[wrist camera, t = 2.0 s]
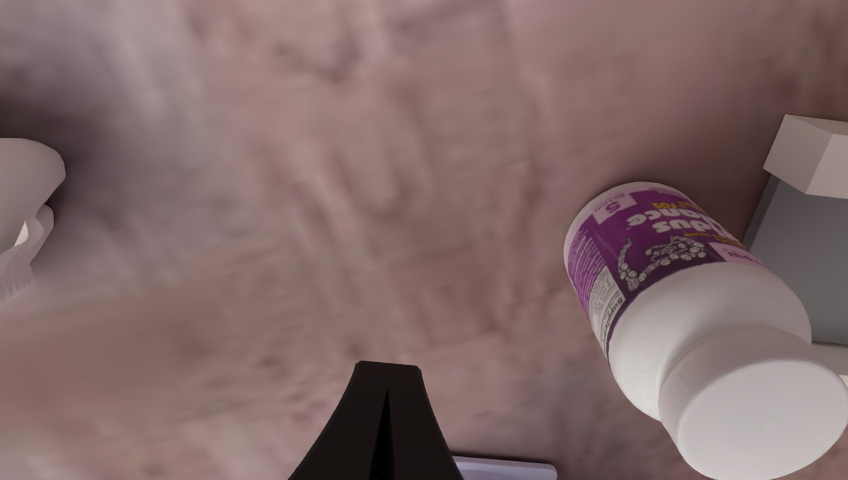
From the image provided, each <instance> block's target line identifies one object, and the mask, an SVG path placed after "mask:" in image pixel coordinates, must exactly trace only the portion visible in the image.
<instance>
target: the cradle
mask: <svg viewBox="0 0 848 480" xmlns="http://www.w3.org/2000/svg"><path fill="white" fill-rule="evenodd" d="M763 169H765V170H766V171H768V172H770V173H771V174H773V175H770V178H769V180H768V182H767V185H766V187H765V189H764V192H763V194H762V196H761V199H760V201H759V203H758V206H757V208H756V210H755V213H754V215H753V217H752V220H751V222H750V224H749V227H748V229H747V231H746V234H745V236H744V238H743V241H742V243H741V244H742V245H743V246H744V247H745V248H746V249H747V250H748V251H749V252H750V253H751V254H753V255H754V256H755V257H757V258H758V259H759V260H760V261H761V262H762V263H763V264H764V265H765V266H766V267H767V268H769V269H770V270H771V271H772V272H773V273H774V274H775V275H777V276H778V277H779V278H780V279H781V280H782V281H783V282H784V283H785V284H786V285H787V286H788V287H789V288H790V289H791V290H792V291H793V292H794V293H795V294H796V296H797V297H798V298H799V300H800V301H801V303H802V304H803V306H804V308H805V310H806V312H807V315H808V318H809V321H810V326H811V334H812V341H811V345H812V346H813V347H814V348H815V349H816V350H817V352H818V353H819V354H820V355H821V356H822V357H823V358H824V359H825V360H826V361H827V362H828V363H829V364H830V366H831V367H832V368H833V369H834V370H835V371H836V372H837V373H838V375H839V376H840V377H841V378H842V380H843V381H844V383H845V384H846V386H847V388H848V122H843V121H835V120H827V119H819V118H812V117H804V116H796V115H788V114H785V116H784V118H783V121H782V123H781V126H780V128H779V130H778V133H777V135H776V137H775V140H774V142H773V145H772V147H771V149H770V152H769V154H768V157H767V159H766V161H765V164H764V166H763Z"/></svg>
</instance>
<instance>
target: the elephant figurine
mask: <svg viewBox="0 0 848 480" xmlns="http://www.w3.org/2000/svg"><path fill="white" fill-rule="evenodd" d="M65 177H66V172H65V167H64V161H63V160H62V158H61V156H60V155H59V153H58V152H57V151H55V150H54V149H52V148H50V147H48V146H46V145H44V144H42V143H40V142H37V141H31V140H28V139H21V138H0V309H1V308H2V307H3V306H4V305H6V304H7V303H8V302H10V301H11V300H12V299H14V298H15V297H16V296H18V295H19V294H20V293H22V292H23V291H24V290H25V289H27V288H28V286H29V285H30V284H31V282H32V281H33V280H34V273H33V271H32V269H31V266H30V264H29V263H30V262H31V260H32V259H33V258H34V257H35V256H36V255H37V253H38V252H39V250H40V249H41V247H42V245H43V244H44V242H45V240H46V239H47V237H48V235H49V234H50V232H51V231H52V229H53V225H54V216H53V211H52V209H51V208H50V207H48V206H47V205H45V204H44V203H45V202H46V201H47V200H48V198H49V197H50V196H51V194H52V193H53V192H54V190H55V189H56V188H57V187H58V186H59V185H60V184H61V183H62V182H63V181H64V179H65Z"/></svg>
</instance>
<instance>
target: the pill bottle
mask: <svg viewBox="0 0 848 480" xmlns="http://www.w3.org/2000/svg"><path fill="white" fill-rule="evenodd" d="M564 261H565V266H566V270H567V273H568V276H569V278H570V280H571V282H572V285H573V287H574V289H575V291H576V293H577V296H578V298H579V300H580V302H581V304H582V307H583V309H584V311H585V313H586V315H587V317H588V320H589V322H590V324H591V326H592V329H593V331H594V333H595V335H596V337H597V339H598V342H599V344H600V346H601V348H602V351H603V353H604V355H605V357H606V359H607V362H608V364H609V366H610V369H611V371H612V373H613V376H614V378H615V380H616V382H617V383H618V385H619V387H620V388H621V390H622V391H623V393H624V394H625V396H626V397H627V398H628V399H629V400H630V401H631V402H632V404H634V405H635V406H636V407H637V408H638V409H640V410H641V411H642V412H644V413H645V414H647V415H649V416H650V417H652V418H654V419H656V420H658V421H661V422H662V424H663V426H664V427H665V429H666V430H667V431H668V433H669V434H670V436H671V438H672V440H673V441H674V443H675V445H676V446H677V448H678V450H679V452H680V454H681V455H682V456H683V458H684V459H685V461H686V462H687V463H688V464H689V465H690V466H691V467H692V468H694V469H695V470H697V471H698V472H699V473H701V474H703V475H705V476H707V477H710V478H713V479H717V480H771V479H775V478H778V477H782V476H785V475H787V474H790V473H792V472H795V471H797V470H799V469H802V468H804V467H806V466H807V465H809V464H811V463H812V462H814V461H815V460H817V459H818V458H819V457H821V456H822V455H823V454H824V453H825V452H827V451H828V450H829V449H830V448H831V447H832V445H833V444H834V443H835V442H836V441H837V440H838V439H839V437H840V436H841V434H842V433H843V431H844V429H845V427H846V426H847V424H848V388H847V386H846V384H845V383H844V381H843V380H842V378H841V377H840V376H839V375H838V373H837V372H836V371H835V370H834V369H833V368H832V367H831V366H830V364H829V363H828V362H827V361H826V360H825V359H824V358H823V357H822V356H821V355H820V354H819V353H818V352H817V350H816V349H815V348H814V347H813V346H812V345H811V341H812V334H811V326H810V321H809V318H808V315H807V312H806V310H805V308H804V306H803V304H802V303H801V301H800V300H799V298H798V297H797V296H796V294H795V293H794V292H793V291H792V290H791V289H790V288H789V287H788V286H787V285H786V284H785V283H784V282H783V281H782V280H781V279H780V278H779V277H778V276H777V275H775V274H774V273H773V272H772V271H771V270H770V269H769V268H767V267H766V266H765V265H764V264H763V263H762V262H761V261H760V260H759V259H758V258H757V257H755V256H754V255H753V254H751V253H750V252H749V251H748V250H747V249H746V248H745V247H744V246H743V245H742V244H741V243H740V242H739V241H738V240H736V239H735V237H734V236H733V235H731V234H730V233H729V232H727V231H726V230H725V229H724V228H723V227H722V226H721V225H720V224H719V223H718V222H716V221H715V220H714V219H712V218H711V217H710V216H709V215H708V214H707V213H706V212H704V211H703V210H702V209H701V208H700V207H698V206H697V205H696V204H695V203H694V202H692V201H691V200H690V199H689V198H688V197H687V196H685V195H684V194H683V193H681V192H679V191H678V190H676V189H674V188H672V187H669V186H666V185H663V184H659V183H652V182H633V183H627V184H623V185H620V186H616V187H614V188H611V189H609V190H608V191H606V192H604V193H602V194H600V195H599V196H597V197H596V198H594V199H593V200H591V201H590V202H589V203H588V204H587V205H586V206H585V207H584V208H583V209H582V210H581V211H580V212H579V213H578V215H577V216H576V217H575V219H574V221H573V222H572V224H571V226H570V228H569V231H568V233H567V235H566V240H565V244H564Z"/></svg>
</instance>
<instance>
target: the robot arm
mask: <svg viewBox="0 0 848 480" xmlns="http://www.w3.org/2000/svg"><path fill="white" fill-rule="evenodd" d="M556 479H557V471H556V469H555V467H554V466H552V465H550V464H541V463H530V462H518V461H506V460H494V459H482V458H470V457H458V456H452V455H451V453H450V450H449V448H448V446H447V444H446V442H445V439H444V437H443V435H442V432H441V430H440V428H439V425H438V423H437V421H436V418H435V416H434V413H433V410H432V407H431V405H430V402H429V399H428V396H427V393H426V389H425V386H424V382H423V378H422V373H421V370H420V369H419V368H418V367H417V366H414V365H403V364H393V363H382V362H371V361H360V362H358V363H357V364H355V368H354V371H353V374H352V377H351V379H350V382H349V384H348V386H347V388H346V390H345V392H344V394H343V396H342V398H341V400H340V402H339V404H338V406H337V407H336V409H335V411H334V412H333V414H332V416H331V418H330V419H329V421H328V423H327V424H326V426H325V428H324V429H323V431H322V432H321V434H320V436H319V437H318V438H317V440H316V441H315V443H314V444H313V446H312V447H311V449H310V450H309V452H308V453H307V454H306V456H305V457H304V459H303V460H302V462H301V463H300V464H299V466H298V467H297V468H296V470H295V471H294V472H293V474H292V475H291V476H290V477H289V479H288V480H556Z"/></svg>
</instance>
